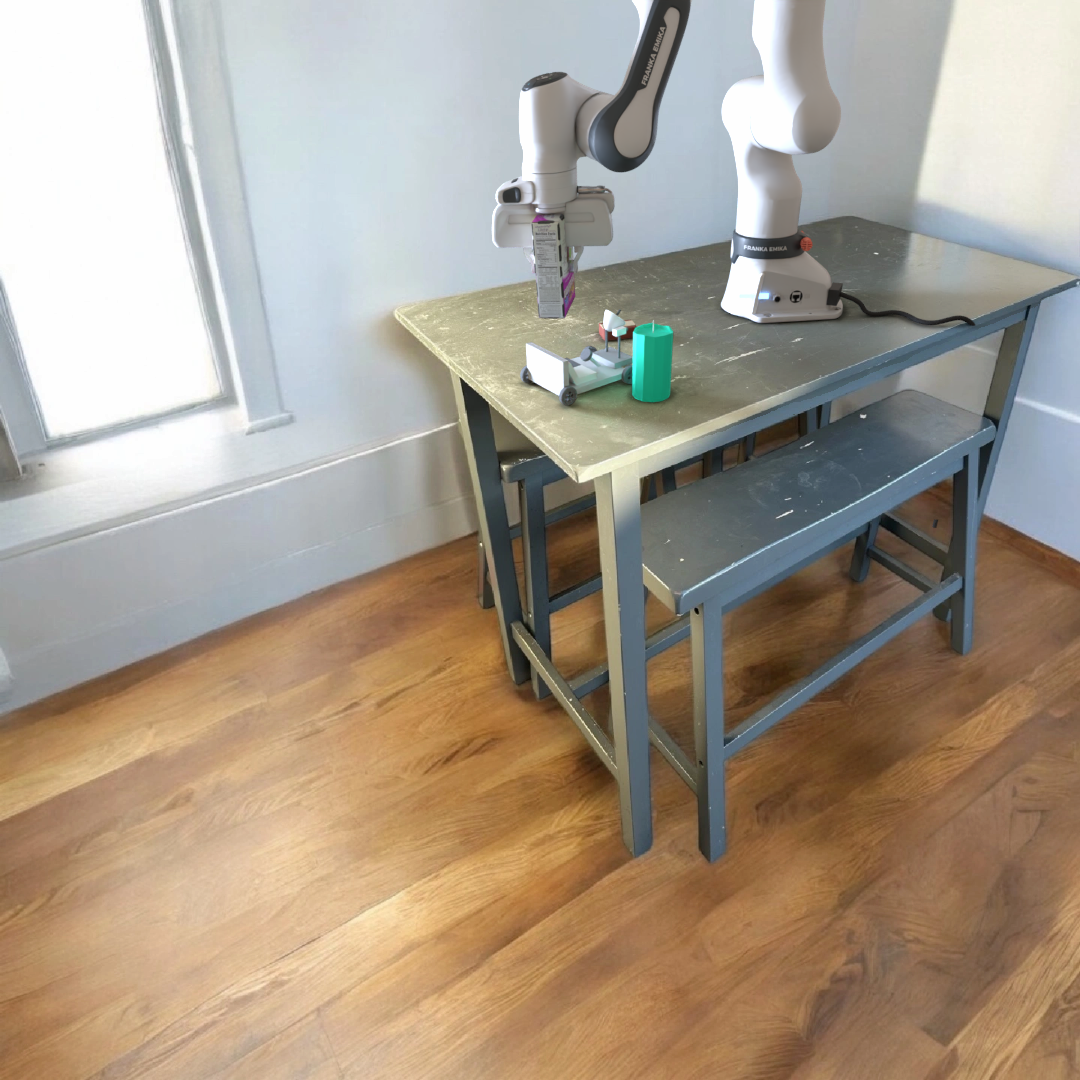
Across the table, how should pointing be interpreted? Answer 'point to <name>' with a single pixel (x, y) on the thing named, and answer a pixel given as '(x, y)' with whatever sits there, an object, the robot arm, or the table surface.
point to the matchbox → (629, 334)
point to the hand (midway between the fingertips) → (554, 272)
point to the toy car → (579, 365)
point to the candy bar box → (552, 266)
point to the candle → (652, 362)
